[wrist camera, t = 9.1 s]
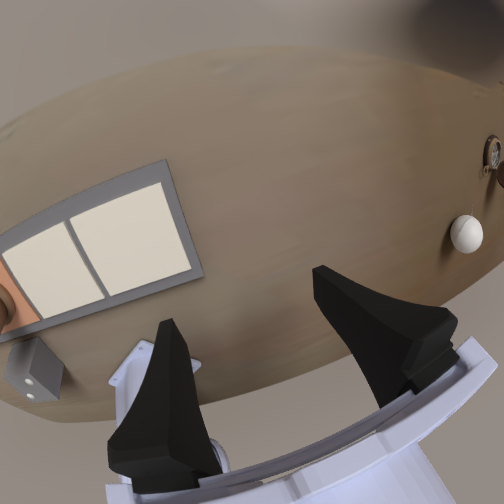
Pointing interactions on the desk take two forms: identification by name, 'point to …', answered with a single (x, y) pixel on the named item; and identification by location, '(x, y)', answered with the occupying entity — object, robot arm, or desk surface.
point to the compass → (494, 158)
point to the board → (97, 251)
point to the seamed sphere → (466, 234)
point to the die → (34, 371)
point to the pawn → (6, 307)
